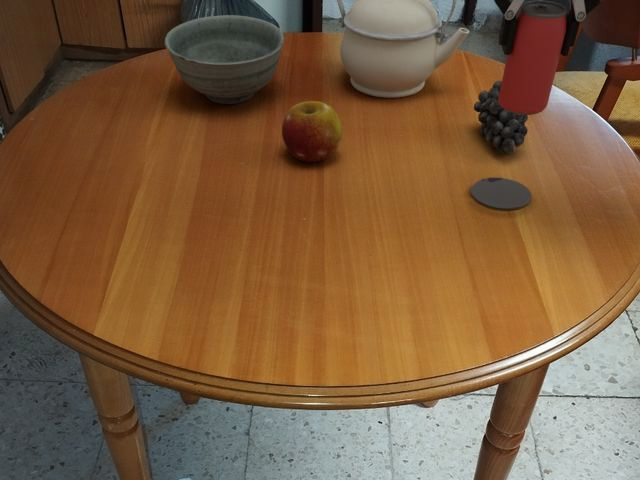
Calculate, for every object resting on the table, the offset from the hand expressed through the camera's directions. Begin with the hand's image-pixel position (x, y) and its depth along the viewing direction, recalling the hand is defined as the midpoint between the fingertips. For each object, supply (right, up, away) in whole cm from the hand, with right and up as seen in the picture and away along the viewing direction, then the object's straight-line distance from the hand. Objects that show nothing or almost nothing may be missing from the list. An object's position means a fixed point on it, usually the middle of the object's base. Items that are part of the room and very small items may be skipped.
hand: (534, 50), depth 87 cm
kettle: (-13, +17, +42) cm, 47 cm away
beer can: (0, -5, +5) cm, 7 cm away
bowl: (-44, +13, +39) cm, 60 cm away
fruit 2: (+2, -1, +27) cm, 27 cm away
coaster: (0, -13, +15) cm, 20 cm away
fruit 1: (-29, -5, +23) cm, 37 cm away
